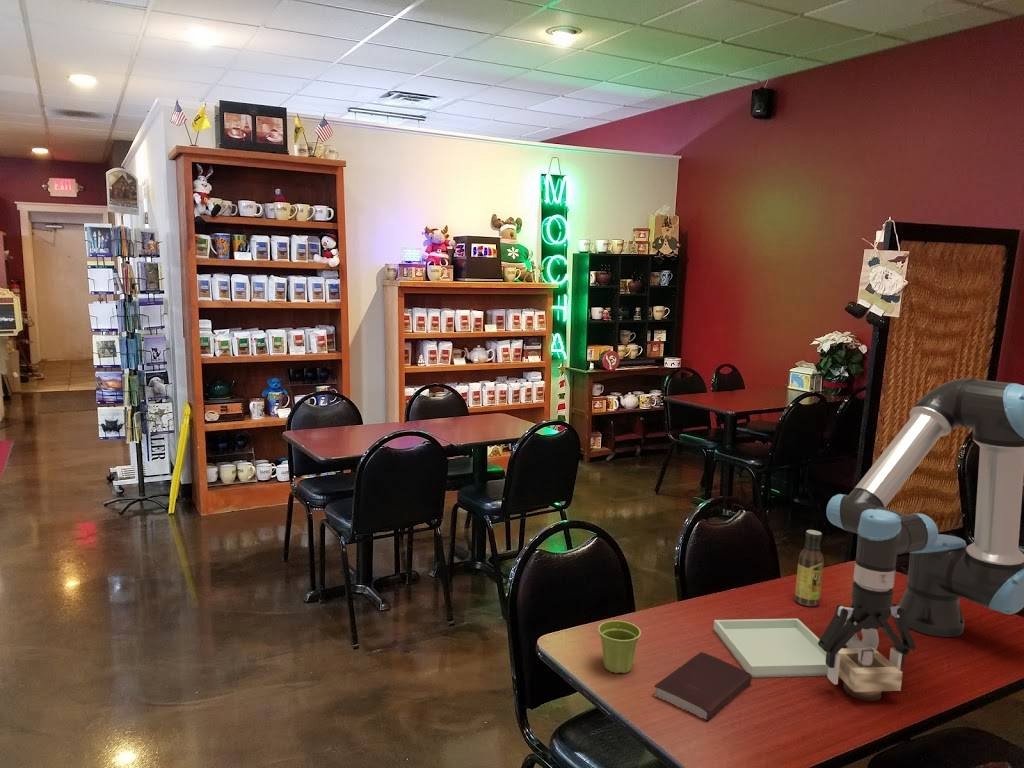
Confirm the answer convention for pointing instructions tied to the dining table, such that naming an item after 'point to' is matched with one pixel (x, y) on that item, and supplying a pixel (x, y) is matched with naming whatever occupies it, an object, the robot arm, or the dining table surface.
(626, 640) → the plant pot
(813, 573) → the sauce bottle
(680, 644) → the dining table surface
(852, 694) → the cylinder
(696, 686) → the book
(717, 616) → the dining table surface
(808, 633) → the sage tray
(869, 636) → the donut
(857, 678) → the wooden square frame
